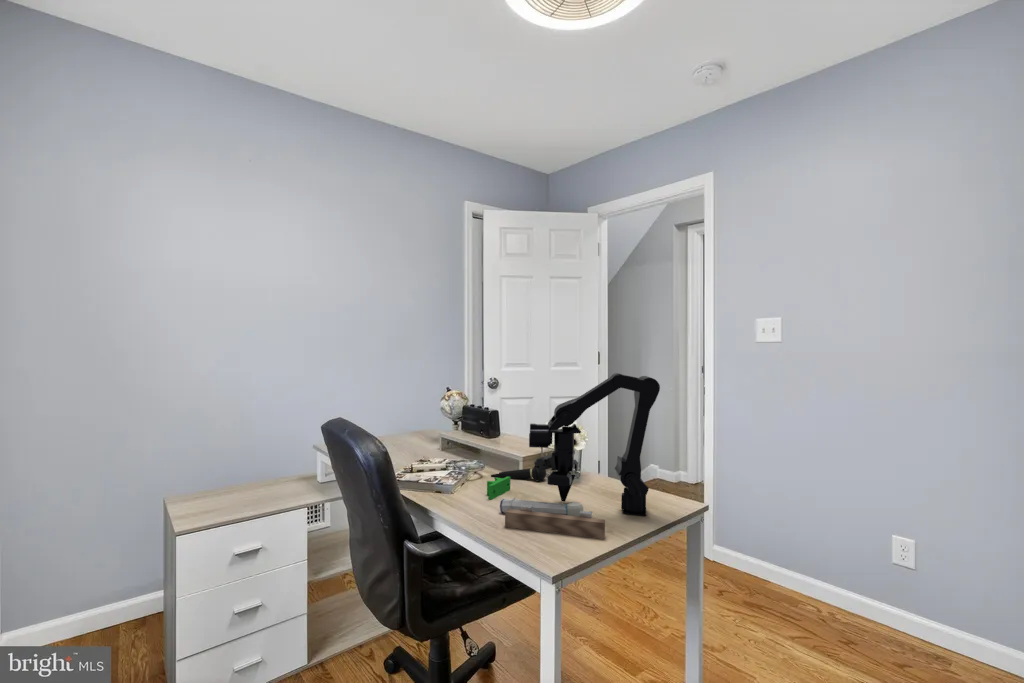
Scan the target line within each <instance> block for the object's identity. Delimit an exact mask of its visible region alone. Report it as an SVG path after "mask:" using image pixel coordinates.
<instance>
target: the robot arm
mask: <svg viewBox="0 0 1024 683" xmlns="http://www.w3.org/2000/svg"><path fill="white" fill-rule="evenodd" d="M619 389H625V390H629V391H633V396H634V410H633V414H632V419H631V423H630V429H629V433H628V437H627V441H626V442H627V443H626V448H625V451H624V453H623V455H622V456H618V455H617V458H616V465H615V466H614V470H615V471H616V476H617V478H618V479H619V481H620V483H621V484H622V486H623V487H624V488H623V492H622V493H621V506H620V507H621V510H622V514H624V515H631V516H632V515H633V516H642V517H643V516H644V517H646V516H647V494H648V493H649V492H648V491H649V487H648V485H647V484H646V483H645V482H644V481H643V480H642V465H641V464H642V463H641V455H642V449H643V446H644V440H645V436H646V432H647V425H648V421H649V418H650V417H649V416H650V412H651V411H650V410H651V409H652V407H653V405H654V404H655V402H656V400H657V398H658V396H659V393H660V389H661V384H660V383H659V381H657V380H656V379H655V378H653V377H650V376H647V375H641V376H639V377H635V376H630V375H625V374H622V373H619V372H615V373H612V374H611V376H609V377H608V378H606V379H605V380H603V381H602V382H600V383H599V384H597V385H595V386H594V387H592V388H591V389H589V390H587V391H586V392H585V393H582V394H581V395H580V396H578V397H576V398H572V399H569V400H566V401H565V402H562V403H559V404H558V405H557V406H555V408H554V412H553V416H551V418H550V420H549V421H548V422H547V424H546V423H545V424H543V423H542V424H541V423H540V424H538V423H537V424H536V423H529V436H528V446H529V448H540V449H541V448H543V449H544V448H545V449H546V448H549V446H550V447H551V445H553V452H552V453H551V454H549V455H548V454H547V455H545V456H541V457H538V458H536V459H535V461H534V462H533V463H534V467H535V468H536V469H537V472H541V471H543V470H548V469H549V470H550V469H551V471H552V472H550V473H549V474H548V476H547V483H546V484H547V485H549V486H557V488H558V492H559V497H560V500H561V502H566V500H567V498H568V496H569V493H570V490H571V488H572V485H573V483H574V480H575V477H576V474H572V473H573V471H575V472H578V470H579V462H578V461H577V460H576V459H575V457H574V456H575V454H576V450H575V434H581V433H582V431H581V430H580V428H579V427H578V426H577V424H576V423H575V422H576V421H578V419H579V418H580V417H581V416H582V415H583V414H584V413H585V411H586V410H588V409H589V408H590V407H592V406H594V405H596V404H597V403H598V402H600V401H602V400H603V399H605V398H606V397H608V396H609V395H611V394H613V393H614V392H616V391H617V390H619ZM572 424H573V425H572ZM553 434H554V439H553ZM553 441H554V442H553ZM534 467H533V468H534Z"/></svg>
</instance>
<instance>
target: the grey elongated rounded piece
mask: <svg viewBox="0 0 1024 683" xmlns="http://www.w3.org/2000/svg"><path fill="white" fill-rule="evenodd" d="M521 505H531V506H532V512H541V513H550V514H559V515H568V516H577V517H580V511H584V507H583V505H582V504H581V502H569V503H556V502H547V501H537V500H526V499H516V497H513V498H502V499H501V500H500V503H499V510H500V512H501V513H502V514H505V511H506V510H507V509H514V510H520V506H521Z"/></svg>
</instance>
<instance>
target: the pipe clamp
mask: <svg viewBox="0 0 1024 683" xmlns="http://www.w3.org/2000/svg"><path fill="white" fill-rule="evenodd" d="M510 491H511V478H510V477H508V476H507V477H505V478H499V477H494V480H487V481H486V495H487V496H488V500H491V501H492V500H494V499H497V497H499V496H502V495H504V494H506V493H507V492H510Z"/></svg>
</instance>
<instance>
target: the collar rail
mask: <svg viewBox="0 0 1024 683" xmlns="http://www.w3.org/2000/svg"><path fill="white" fill-rule="evenodd" d="M504 527H505V528H509V529H510V528H513V529H521V530H527V531H528V530H529V531H535V532H546V533H553V534H560V535H569V536H577V537H586V538H595V539H602V540H604V539H605V535H606V519H604V518H593V511H586V510H583V511H580V517H577V516H568V515H559V514H550V513H541V512H532V506H531V505H521V506H520V510H514V509H507V510H506V511H505V513H504Z"/></svg>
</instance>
